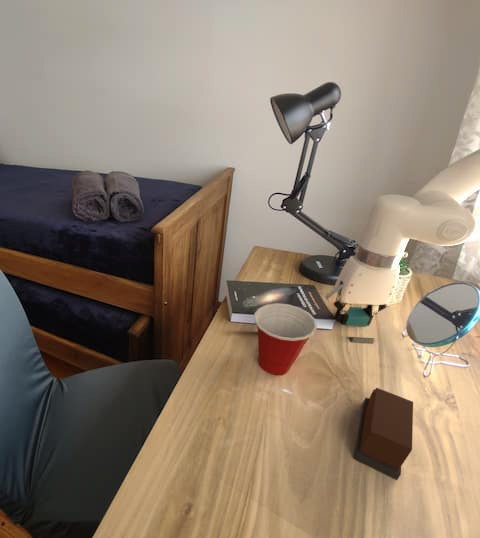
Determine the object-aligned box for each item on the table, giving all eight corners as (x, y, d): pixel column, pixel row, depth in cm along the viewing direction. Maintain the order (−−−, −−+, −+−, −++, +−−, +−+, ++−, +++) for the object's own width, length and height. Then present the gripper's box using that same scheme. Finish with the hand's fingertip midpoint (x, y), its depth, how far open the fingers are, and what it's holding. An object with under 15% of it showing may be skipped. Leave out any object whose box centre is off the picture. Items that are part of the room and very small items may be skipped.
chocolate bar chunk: (363, 402, 64) (375, 377, 61) (400, 418, 61) (416, 392, 58) (353, 459, 55) (367, 432, 52) (397, 480, 52) (414, 453, 49)
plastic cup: (239, 345, 78) (249, 300, 72) (291, 348, 77) (305, 302, 71) (250, 384, 68) (262, 336, 62) (309, 387, 67) (327, 339, 61)
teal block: (334, 317, 86) (339, 303, 84) (354, 318, 85) (359, 304, 83) (351, 342, 78) (357, 328, 76) (373, 343, 77) (379, 329, 75)
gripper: (410, 248, 76) (380, 317, 85) (327, 246, 78) (306, 313, 87) (433, 266, 70) (398, 338, 79) (342, 262, 71) (318, 333, 80)
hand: (350, 324), depth 83 cm, fingers closed on teal block, 4 cm apart
